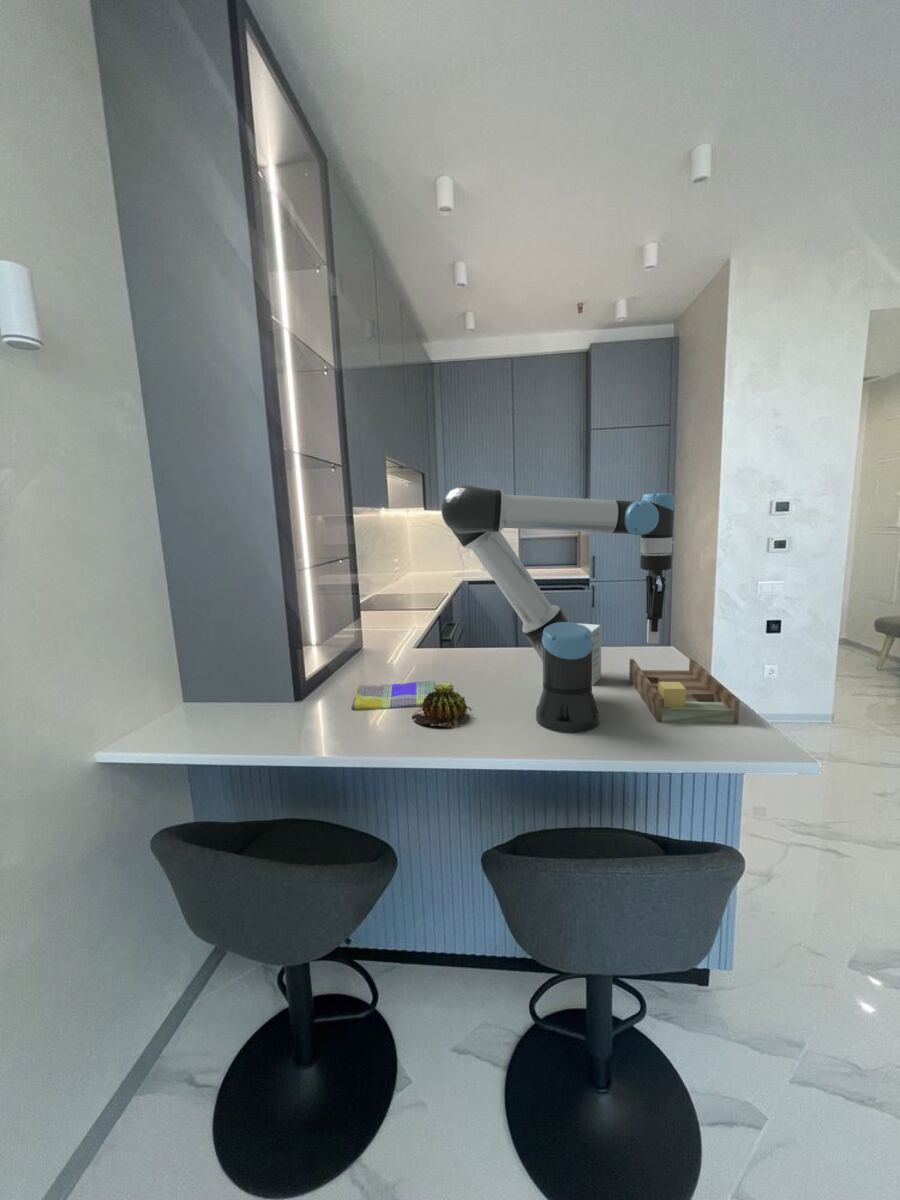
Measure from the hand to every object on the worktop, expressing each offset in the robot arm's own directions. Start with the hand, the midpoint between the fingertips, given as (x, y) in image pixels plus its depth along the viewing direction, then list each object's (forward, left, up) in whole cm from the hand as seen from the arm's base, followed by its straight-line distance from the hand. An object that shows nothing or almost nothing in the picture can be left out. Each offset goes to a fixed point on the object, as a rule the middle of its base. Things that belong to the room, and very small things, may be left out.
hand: (652, 642), depth 134 cm
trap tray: (+5, -4, -16) cm, 17 cm away
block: (-5, -11, -13) cm, 17 cm away
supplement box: (-5, +22, -16) cm, 28 cm away
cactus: (-53, +18, -16) cm, 59 cm away
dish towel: (-59, +38, -17) cm, 73 cm away
